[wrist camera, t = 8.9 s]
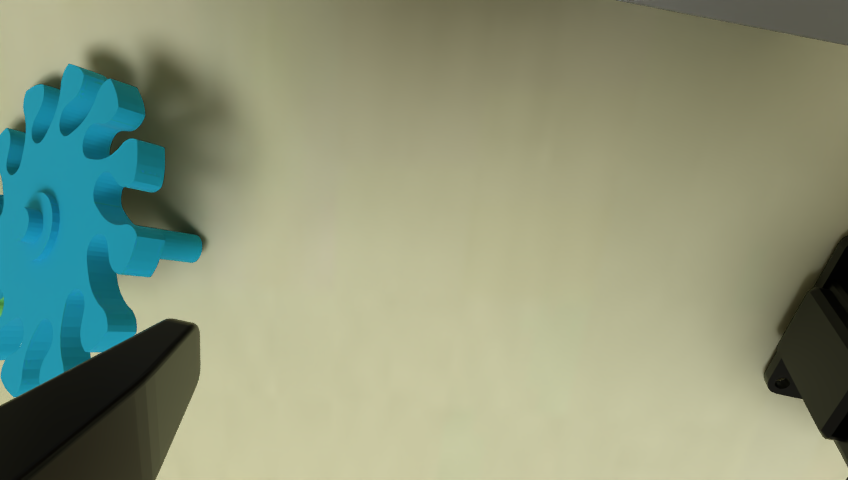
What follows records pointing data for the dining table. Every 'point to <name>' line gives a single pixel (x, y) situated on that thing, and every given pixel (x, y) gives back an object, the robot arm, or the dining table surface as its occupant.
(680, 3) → the bay
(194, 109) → the dining table surface
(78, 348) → the gear
